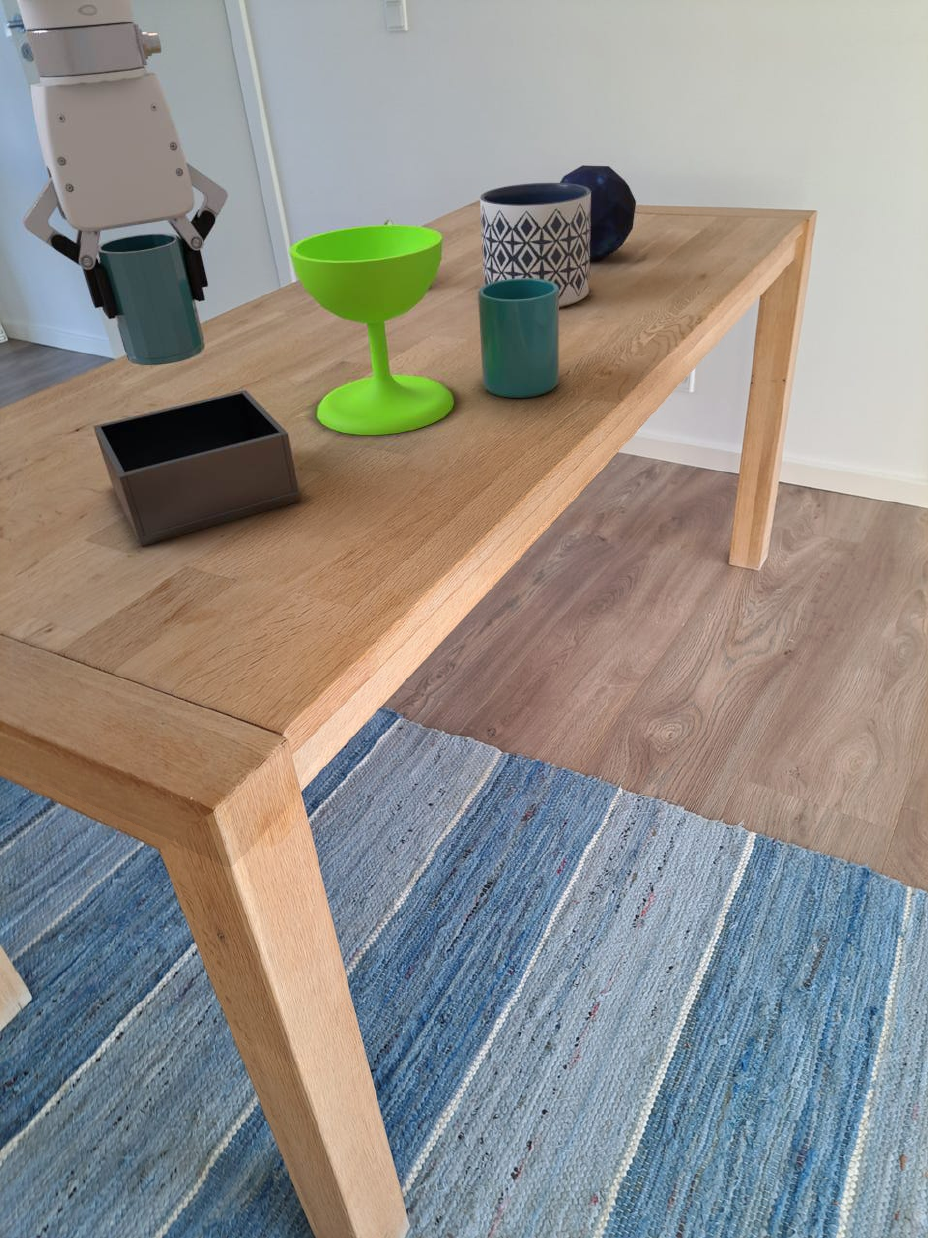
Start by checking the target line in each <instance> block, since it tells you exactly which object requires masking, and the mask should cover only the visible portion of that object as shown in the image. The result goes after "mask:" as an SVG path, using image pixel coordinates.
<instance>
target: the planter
mask: <svg viewBox="0 0 928 1238" xmlns="http://www.w3.org/2000/svg"><path fill="white" fill-rule="evenodd" d="M479 205H480V208H479V209H480V227H481V229H480V230H481V251H482V252H481V253H482V270H483V273H482V274H483V286H485V285H487V284H489V283H492V282H496V281H500V280H506V279H516V278H534V279H543V280H547V281H551V282H553V283H555V284H556V285H557V286H558V287H559V308H563V307H567V306H570V305H573V304H575V303H578V302H579V301H581V300H582V299H584V298H585V297H587V295H588V294H589V292H590V267H591V265H590V263H591V260H590V219H591V191H590V189H588V188H587V187H584V186H581V185H576V184H568V183H560V182H532V183H521V184H520V183H519V184H513V185H506V186H501V187H497V188H493V189H490V190H488V191H485V192H483V193H482V194H481V195H480V196H479ZM568 300H569V301H568Z"/></svg>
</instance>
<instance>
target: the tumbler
mask: <svg viewBox="0 0 928 1238" xmlns="http://www.w3.org/2000/svg"><path fill="white" fill-rule="evenodd" d="M96 257H97V259H98V261H99V263H100V265H101V266H102V267H103V268H104V270H105V273H106V277H107V280H108V283H109V287H110V290H111V294H112V297H113V301H114V304H115V308H116V311H117V315H118V316H115V317H116V318H114V319H115V322H116V326H117V329H118V331H119V332H118V333H119V336H120V339H121V343H122V346H123V350H124V352H125V355H126V358H127V360H128V362H130V363H133V364H135V365H140V366H160V365H161V366H163V365H167V364H175V363H178V362H182V361H186V360H188V359H191V358H193V357H195V356H197V355H199V354H201V353H203V351H204V350H205V347H206V346H205V338H204V333H203V330H202V329H203V328H202V325H201V321H200V316H199V313H198V312H199V311H198V308H197V304H196V303H197V302H196V300H195V299H194V295H193V291H192V286H191V282H190V278H189V274H188V269H187V265H186V261H185V257H184V252H183V247H182V243H181V238H180V237H179V236H178V234H173V233H167V232H165V233H161V232H160V233H159V232H157V233H156V232H155V233H153V232H152V233H143V234H133V235H128V236H123V237H118V238H115V239H110V240H107V241H105V242H103V243H99V244H98V249H97V256H96Z"/></svg>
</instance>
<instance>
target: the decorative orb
mask: <svg viewBox="0 0 928 1238" xmlns="http://www.w3.org/2000/svg"><path fill="white" fill-rule="evenodd" d="M559 183H568V184H576V185H581V186H584V187H587V188H588V189H590V191H591V219H590V261H593V262H594V261H595V262H600V261H602V260H604V259H606V258H607V257H609V256H610V255H612V254H614V253H615V252H616V251H618V250H619V249H620V248H621V247H622V246H623V245H624V243H625V242H626V240H627V239H628V237H629V235H630V234H631V232H632V230H633V228H634V222H635V214H636V207H637V206H636V205H637V200H636V198H635V196H634V194H633V192H632V189H631V187H630V186H629V184H628V183H627V182H626V180H625V179H624V178H623V177H621V176H620V174H618V173H617V172H616V171H615V170H614V169H612V167H610V165H583V164H582V165H581V166H579V167H577V168H575V169H574V170H572V171H570V172H568V173H567V174H565V175H563V176H562V178H561V180H560V181H559Z"/></svg>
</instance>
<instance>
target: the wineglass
mask: <svg viewBox="0 0 928 1238" xmlns="http://www.w3.org/2000/svg"><path fill="white" fill-rule="evenodd" d="M442 253H443V236H442V233H441V232H440V231H438V230H436V229H433V228H427V227H424V226H418V225H408V224H392V225H384V224H377V225H376V224H375V225H374V224H373V225H365V226H354V227H346V228H341V229H340V228H339V229H335V230H330V231H325V232H321V233H318V234H314V235H311V236H308V237H305V238H303V239H301V240H299V241H296V242H295V243H294V244H292V245H291V246H290V247H289V255H290V260H291V262H292V266H293V269H294V272H295V275H296V276H297V277H298V279H299V281H300V282H301V284H302V286H303V288H304V290H305V291H306V292H307V293H308V295H310V296H311V297H312V299H314V301H316V302H317V303H318V304H319V305H320V306H321V307H322V309H324V310H326V311H327V312H329V313H330V314H333V315H335V316H336V317H338V318H341V319H342V320H347V321H350V322H356V323H360V324H361V323H362V324H366V326H367V334H368V342H369V348H370V349H369V351H370V358H371V365H372V366H371V367H372V374H373V376H370V377H366V378H361V379H357V380H354V381H351V382H348V383H345V384H343V385H340V386H339V387H337V388H334V389H333V390H332V391H330V392H329V393H327V394H325V396H324V397H323V398H322V399H321V401H320V402H319V404H318V406H317V410H316V411H317V413H316V415H317V416H316V417H317V419H318V421H319V422H320V424H322V425H323V426H325V427H327V428H328V429H330V430H332V431H336V432H340V433H344V434H351V435H356V436H357V435H358V436H383V435H384V436H385V435H391V434H392V435H393V434H400V433H405V432H410V431H414V430H417V429H420V428H424V427H426V426H429V425H432V424H434V423H435V422H437V421H439V420H441V419H443V418H445V416H447V415H448V414H449V413H450V412H451V411H452V409H453V408H454V405H455V400H454V396H453V394H452V392H451V391H450V390H449V389H448V388H447V387H446V386H445V385H444V384H442V383H440V382H439V381H436V380H434V379H432V378H427V377H424V376H419V375H409V374H391V368H390V361H389V352H388V343H387V334H386V326H385V322H387V321H390V320H392V319H394V318H397V317H399V316H402V315H404V314H406V313H407V312H409V311H410V310H411V309H412V308H414V307H415V306H416V305H417V304H418V303H420V301H422V300H423V298H424V297H425V295H426V294H427V292H428V290H429V289H430V287H431V286H432V284H433V283H434V281H435V280H436V278H437V274H438V271H439V268H440V264H441V262H442Z"/></svg>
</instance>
